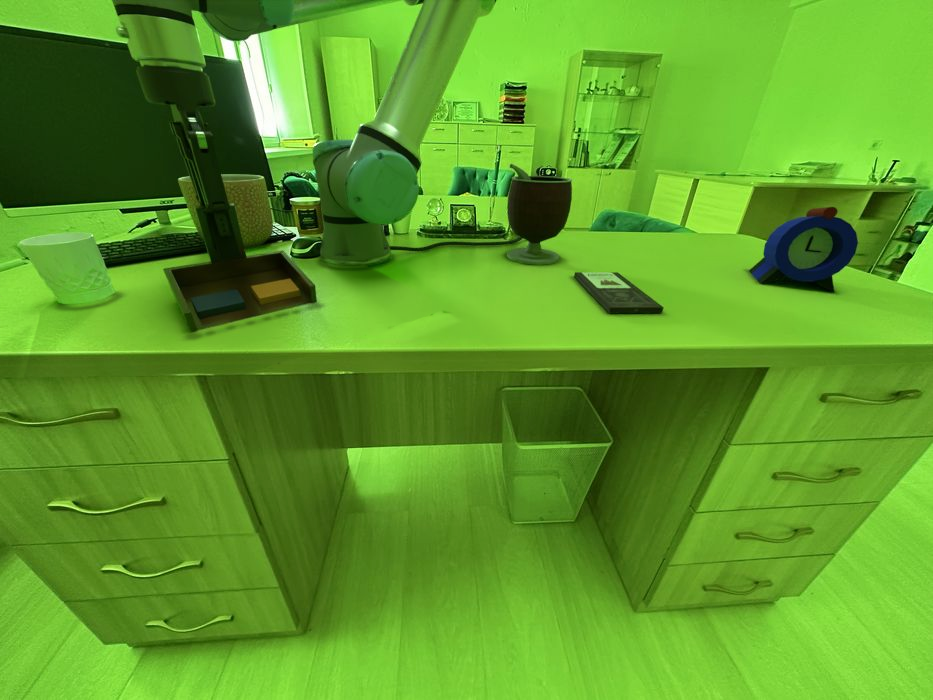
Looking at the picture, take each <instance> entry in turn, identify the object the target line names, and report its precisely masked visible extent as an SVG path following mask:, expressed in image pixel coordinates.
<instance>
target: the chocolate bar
mask: <svg viewBox="0 0 933 700" xmlns="http://www.w3.org/2000/svg"><path fill="white" fill-rule="evenodd" d="M573 278H575V279H576V281H577V282H578V283H579V284H580V285H581V286H582V287H583V288H584V289H585V290H586V291H587V292H588V293H589V294H590V295H591V296H592V297H593V299H594V300H595V301H596V302H598V303H599V305H601V306H602V307H603V309H605V311H606V312H607V313H608V314H651V313H652V314H663V311H664V306H663V305H662V304H660V303H659V302H658V301H656V300H655V299H653V298H652V297H651V296H649V295H648V294H647V293H646V292H644V291H643V290H641V288H639V287H638V286H637V285H635V284H633V283H632V282H631V281H630V280H628V279H627V278H626V277H624V276H623V275H621V274H620V273H619V272H617V271H615V272H614V271H613V272H607V271H604V272H603V271H601V272H600V271H595V272H594V271H591V272H589V271H587V272H586V271H581V272H580V271H578V272H577V271H575V272H574V275H573Z"/></svg>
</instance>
